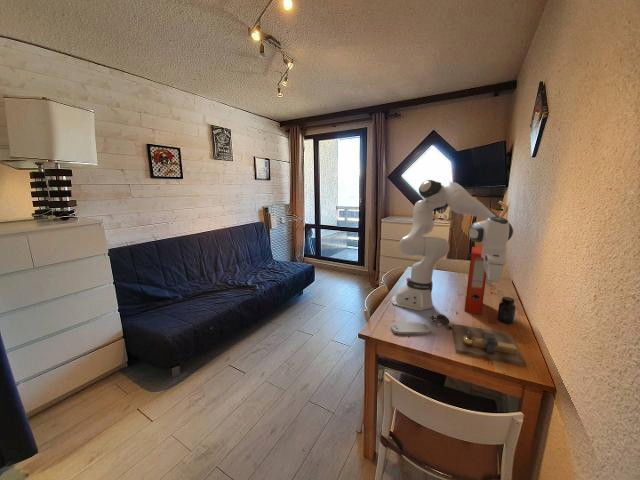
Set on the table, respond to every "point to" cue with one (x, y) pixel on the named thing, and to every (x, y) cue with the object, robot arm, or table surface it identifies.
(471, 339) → the brass link
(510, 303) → the supplement bottle
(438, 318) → the eagle figurine
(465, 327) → the walnut base plate
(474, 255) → the file binder
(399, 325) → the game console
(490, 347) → the keeper hook
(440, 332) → the table surface
